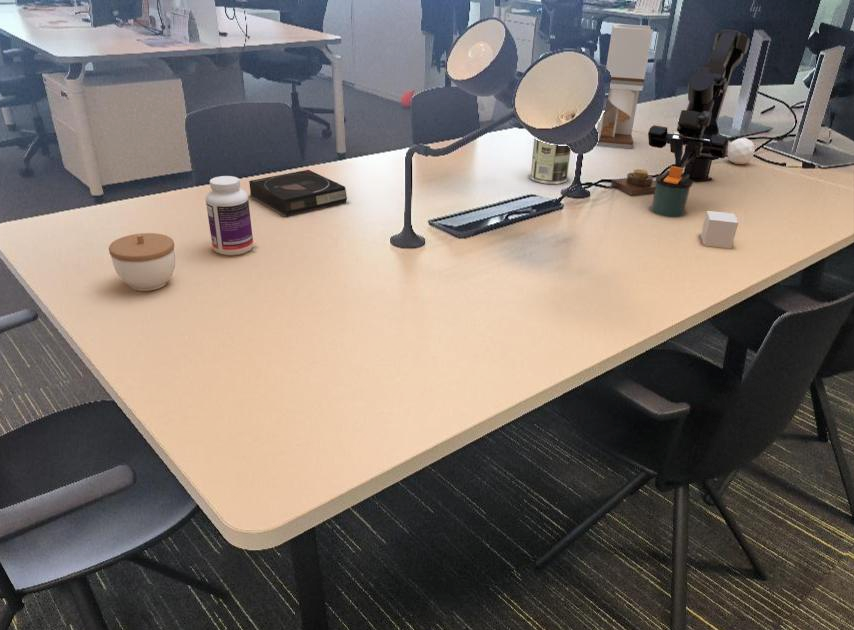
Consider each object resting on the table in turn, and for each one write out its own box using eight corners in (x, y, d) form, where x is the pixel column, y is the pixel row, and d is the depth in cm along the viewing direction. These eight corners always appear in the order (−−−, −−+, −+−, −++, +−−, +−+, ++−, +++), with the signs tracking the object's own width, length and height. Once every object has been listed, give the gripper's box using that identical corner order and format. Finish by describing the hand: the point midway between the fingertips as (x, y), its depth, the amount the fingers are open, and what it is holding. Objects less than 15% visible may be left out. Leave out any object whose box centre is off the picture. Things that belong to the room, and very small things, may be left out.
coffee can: (564, 173, 198) (571, 123, 190) (569, 185, 189) (576, 132, 182) (528, 172, 198) (533, 121, 190) (531, 183, 189) (536, 130, 182)
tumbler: (654, 203, 179) (661, 168, 175) (688, 209, 176) (696, 174, 171) (645, 212, 173) (653, 177, 168) (681, 219, 169) (689, 183, 165)
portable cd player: (287, 217, 159) (285, 200, 157) (250, 196, 170) (249, 180, 168) (347, 203, 169) (346, 187, 167) (309, 185, 180) (308, 169, 177)
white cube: (700, 235, 161) (706, 210, 158) (727, 238, 160) (734, 213, 157) (703, 245, 156) (709, 219, 153) (731, 248, 155) (738, 222, 152)
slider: (667, 177, 171) (670, 165, 169) (681, 179, 170) (684, 168, 168) (663, 181, 167) (665, 170, 166) (677, 184, 166) (680, 172, 165)
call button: (640, 175, 189) (642, 168, 189) (649, 179, 187) (650, 172, 186) (630, 176, 188) (631, 169, 187) (638, 180, 185) (639, 173, 184)
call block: (643, 181, 194) (645, 169, 193) (664, 191, 188) (667, 179, 186) (610, 185, 190) (613, 172, 188) (631, 196, 183) (633, 182, 182)
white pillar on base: (596, 145, 226) (614, 27, 208) (595, 137, 235) (612, 23, 217) (632, 148, 225) (653, 29, 207) (630, 140, 234) (650, 25, 216)
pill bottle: (261, 245, 145) (254, 177, 137) (239, 260, 138) (231, 189, 131) (227, 239, 147) (219, 171, 139) (204, 253, 140) (194, 182, 133)
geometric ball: (728, 170, 218) (723, 145, 218) (756, 163, 216) (750, 138, 216) (731, 164, 210) (725, 138, 211) (759, 156, 208) (753, 130, 209)
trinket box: (143, 302, 121) (133, 252, 116) (104, 286, 126) (93, 237, 121) (192, 281, 129) (185, 233, 124) (154, 266, 134) (145, 220, 129)
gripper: (657, 91, 169) (637, 146, 167) (738, 101, 162) (717, 160, 159) (659, 118, 179) (639, 171, 177) (734, 129, 172) (715, 185, 169)
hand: (676, 171), depth 170 cm, fingers closed
